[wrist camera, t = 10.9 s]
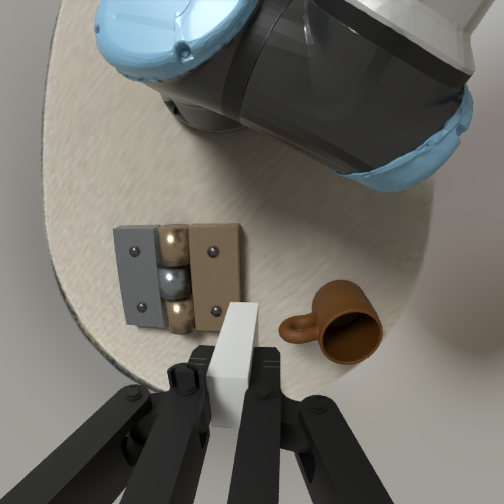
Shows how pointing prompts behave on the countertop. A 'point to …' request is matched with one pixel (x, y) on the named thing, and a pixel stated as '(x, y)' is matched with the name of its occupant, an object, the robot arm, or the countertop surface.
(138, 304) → the loose leaf
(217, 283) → the fixed leaf
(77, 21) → the countertop surface
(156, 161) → the countertop surface
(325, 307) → the mug
